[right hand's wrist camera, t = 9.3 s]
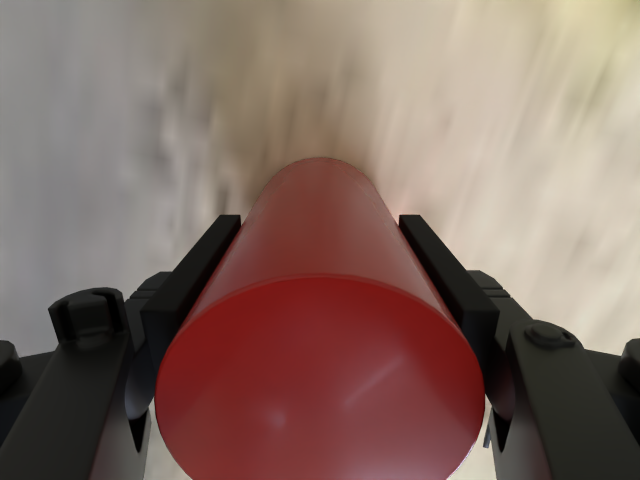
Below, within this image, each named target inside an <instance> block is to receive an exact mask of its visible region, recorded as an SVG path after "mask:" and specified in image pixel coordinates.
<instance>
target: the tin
mask: <svg viewBox="0 0 640 480" xmlns="http://www.w3.org/2000/svg"><path fill="white" fill-rule="evenodd" d="M154 403H155V414H156V420H157V423H158V427H159V431H160V434H161V436H162V438H163V440H164V443H165V445H166V447H167V449H168V450H169V452H170V453H171V455H172V456H173V458H174V460H175V461H176V462H177V463H178V465H179V466H180V467H181V468H182V469H183V470H184V472H185V473H186V474H187V475H188V476H189V477H190V478H192V479H193V480H447V479H448V478H449V477H450V476H451V475H452V474H453V473H454V472H455V471H456V470H457V469H458V468H459V467H460V466H461V464H462V463H463V462H464V460H465V459H466V458H467V456H468V455H469V453H470V451H471V450H472V448H473V446H474V444H475V442H476V440H477V438H478V435H479V432H480V429H481V427H482V423H483V417H484V412H485V386H484V380H483V374H482V371H481V368H480V365H479V362H478V360H477V357H476V355H475V353H474V351H473V350H472V348H471V346H470V344H469V343H468V341H467V339H466V337H465V336H464V334H463V332H462V331H461V329H460V327H459V326H458V324H457V323H456V321H455V319H454V318H453V316H452V314H451V313H450V311H449V309H448V308H447V306H446V304H445V303H444V301H443V299H442V298H441V296H440V294H439V293H438V291H437V289H436V288H435V286H434V284H433V283H432V281H431V279H430V278H429V276H428V274H427V273H426V271H425V270H424V268H423V266H422V265H421V263H420V261H419V260H418V258H417V256H416V255H415V253H414V251H413V250H412V248H411V246H410V245H409V243H408V241H407V240H406V238H405V236H404V235H403V233H402V231H401V230H400V228H399V226H398V225H397V223H396V221H395V220H394V218H393V217H392V215H391V213H390V212H389V210H388V208H387V207H386V205H385V203H384V202H383V200H382V198H381V197H380V195H379V193H378V192H377V190H376V188H375V187H374V185H373V184H372V183H371V181H370V180H369V179H368V178H367V177H366V176H365V175H364V174H363V173H362V172H360V171H359V170H358V169H356V168H355V167H353V166H351V165H349V164H347V163H345V162H342V161H339V160H335V159H331V158H310V159H304V160H301V161H298V162H295V163H293V164H291V165H288V166H287V167H285V168H284V169H282V170H281V171H279V172H278V173H277V174H276V175H275V176H274V177H273V178H272V179H271V180H270V181H269V182H268V184H267V185H266V187H265V188H264V190H263V191H262V193H261V195H260V196H259V198H258V200H257V201H256V203H255V205H254V206H253V208H252V210H251V211H250V213H249V214H248V216H247V218H246V219H245V221H244V223H243V224H242V226H241V228H240V229H239V231H238V233H237V234H236V236H235V238H234V239H233V241H232V243H231V244H230V246H229V247H228V249H227V251H226V252H225V254H224V256H223V257H222V259H221V261H220V262H219V264H218V266H217V267H216V269H215V271H214V272H213V274H212V276H211V277H210V279H209V280H208V282H207V284H206V285H205V287H204V289H203V290H202V292H201V294H200V295H199V297H198V299H197V300H196V302H195V304H194V305H193V307H192V309H191V310H190V312H189V314H188V315H187V317H186V318H185V320H184V322H183V323H182V325H181V327H180V328H179V330H178V332H177V333H176V335H175V337H174V338H173V340H172V342H171V343H170V345H169V347H168V348H167V350H166V353H165V355H164V357H163V359H162V361H161V363H160V367H159V370H158V374H157V378H156V383H155V395H154Z"/></svg>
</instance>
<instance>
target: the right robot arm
mask: <svg viewBox="0 0 640 480" xmlns="http://www.w3.org/2000/svg"><path fill="white" fill-rule="evenodd" d="M240 228H241V218H240V215H220V216H219V217H218V218H217V219H216V220H215V222H214V223H213V224H212V225H211V226H210V227H209V229H208V230H207V231H206V232H205V233H204V235H203V236H202V237H201V238H200V239H199V241H198V242H197V243H196V244H195V245H194V247H193V248H192V249H191V250H190V251H189V252H188V254H187V255H186V256H185V257H184V258H183V260H182V261H181V262H180V263H179V264H178V266H177V267H176V268H175V269H174V270H173V271H172V272H159V273H157V274H155V275H154V276H152V277H150V278H148V279H146V280H145V281H144V282H143V283H142V284H141V285H140V287H139V288H138V289H137V291H135V292H134V293H133V294H132V295H131V296H130V299H127V300H126V301H125V302H124V300H123V295H122V292H120V291H119V290H117V289H114V288H108V287H103V288H92V289H87V290H82V291H78V292H76V293H73V294H70V295H67V296H65V297H63V298H61V299H60V300H58V301H56V302H55V303H54V304H52V305H51V306H50V307H49V308H48V311H49V314H50V317H51V320H52V323H53V326H54V329H55V333H56V336H57V339H58V342H59V344H58V346H57V348H56V350H55V351H52V352H47V353H42V354H37V355H31V356H26V357H21V358H19V357H18V354H17V352H16V349H15V346H14V345H13V344H12V343H10V342H9V341H4V340H0V480H143V479H144V472H145V465H146V457H147V450H148V443H149V436H150V429H151V416H150V412H149V407H148V406H149V404H150V403H151V401H152V399H153V397H154V395H155V383H156V378H157V374H158V370H159V367H160V363H161V361H162V359H163V357H164V355H165V353H166V350H167V348H168V347H169V345H170V343H171V342H172V340H173V338H174V337H175V335H176V333H177V332H178V330H179V328H180V327H181V325H182V323H183V322H184V320H185V318H186V317H187V315H188V314H189V312H190V310H191V309H192V307H193V305H194V304H195V302H196V300H197V299H198V297H199V295H200V294H201V292H202V290H203V289H204V287H205V285H206V284H207V282H208V280H209V279H210V277H211V276H212V274H213V272H214V271H215V269H216V267H217V266H218V264H219V262H220V261H221V259H222V257H223V256H224V254H225V252H226V251H227V249H228V247H229V246H230V244H231V243H232V241H233V239H234V238H235V236H236V234H237V233H238V231H239V229H240ZM399 228H400V230H401V231H402V233H403V235H404V236H405V238H406V240H407V241H408V243H409V245H410V246H411V248H412V250H413V251H414V253H415V255H416V256H417V258H418V260H419V261H420V263H421V265H422V266H423V268H424V270H425V271H426V273H427V274H428V276H429V278H430V279H431V281H432V283H433V284H434V286H435V288H436V289H437V291H438V293H439V294H440V296H441V298H442V299H443V301H444V303H445V304H446V306H447V308H448V309H449V311H450V313H451V314H452V316H453V318H454V319H455V321H456V323H457V324H458V326H459V327H460V329H461V331H462V332H463V334H464V336H465V337H466V339H467V341H468V343H469V344H470V346H471V348H472V350H473V351H474V353H475V355H476V357H477V360H478V362H479V365H480V368H481V371H482V374H483V380H484V386H485V394H486V396H487V397H488V399H489V401H490V403H491V405H492V407H491V412H490V416H489V420H488V425H487V429H486V433H485V437H484V443H483V447H485V448H488V447H489V443H490V440H491V442H492V449H493V456H494V464H495V471H496V478H497V480H640V338H638V339H632V340H630V341H629V342H627V343H626V346H625V348H624V351H623V353H622V356H618V355H613V354H607V353H602V352H597V351H591V350H587V349H584V347H583V345H582V344H581V342H580V341H579V340H578V339H577V338H576V337H575V336H574V335H573V334H572V333H570V332H568V331H567V330H565V329H564V328H562V327H559V326H557V325H554V324H552V323H549V322H545V321H541V320H534V319H532V318H531V317H530V316H529V315H528V313H527V312H526V311H525V310H524V309H523V308H522V307H521V306H520V305H519V304H518V303H517V302H516V301H515V300H514V299H513V298H511V297H510V295H509V294H508V293H507V291H506V290H503V287H502V286H501V285H500V284H499V283H498V282H497V281H496V280H495V279H494V278H492V277H491V276H489V275H487V274H485V273H483V272H482V271H480V270H466V269H465V268H464V267H463V266H462V265H461V263H460V262H459V261H458V260H457V259H456V258H455V256H454V255H453V254H452V253H451V252H450V250H449V249H448V248H447V247H446V246H445V244H444V243H443V242H442V241H441V240H440V238H439V237H438V236H437V235H436V234H435V233H434V231H433V230H432V229H431V228H430V227H429V225H428V224H427V223H426V222H425V221H424V219H423V218H422V217H421V216H420V215H399Z"/></svg>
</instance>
